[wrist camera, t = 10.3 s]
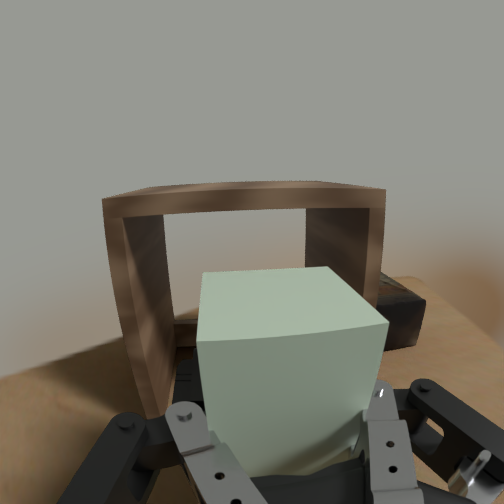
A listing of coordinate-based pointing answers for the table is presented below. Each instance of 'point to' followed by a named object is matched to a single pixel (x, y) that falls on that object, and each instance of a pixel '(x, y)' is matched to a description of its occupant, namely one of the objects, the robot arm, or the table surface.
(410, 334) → the beverage carton
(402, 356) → the table surface
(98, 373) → the table surface
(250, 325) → the sage block
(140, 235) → the walnut box
